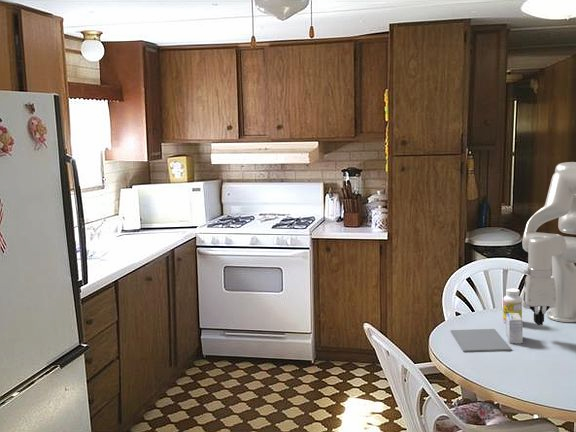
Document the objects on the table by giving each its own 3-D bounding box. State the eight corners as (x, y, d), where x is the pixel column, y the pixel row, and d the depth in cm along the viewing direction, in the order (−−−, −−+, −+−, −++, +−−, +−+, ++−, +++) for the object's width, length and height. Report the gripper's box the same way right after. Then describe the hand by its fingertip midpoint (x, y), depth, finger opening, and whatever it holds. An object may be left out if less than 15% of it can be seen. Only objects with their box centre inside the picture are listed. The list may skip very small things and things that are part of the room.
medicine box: (522, 344, 212) (523, 320, 210) (509, 343, 213) (509, 319, 211) (518, 336, 219) (519, 312, 218) (505, 335, 220) (506, 312, 219)
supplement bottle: (499, 320, 236) (500, 288, 234) (515, 318, 237) (515, 286, 235) (509, 326, 230) (509, 293, 228) (525, 324, 231) (525, 291, 229)
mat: (450, 331, 227) (450, 330, 227) (494, 330, 226) (494, 328, 226) (463, 351, 207) (463, 350, 207) (511, 350, 206) (511, 348, 206)
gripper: (521, 276, 208) (520, 328, 211) (566, 274, 208) (564, 326, 211) (514, 271, 216) (513, 321, 219) (557, 269, 215) (556, 319, 218)
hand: (538, 323), depth 215 cm, fingers closed
